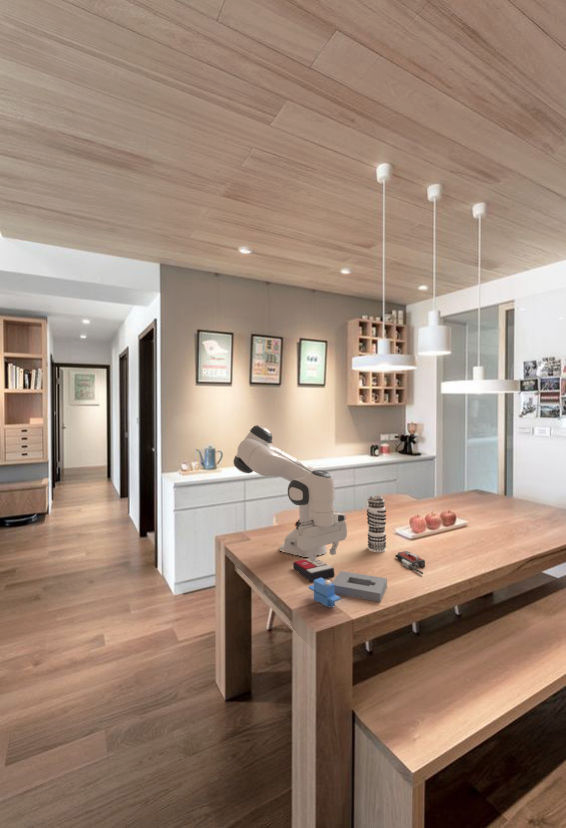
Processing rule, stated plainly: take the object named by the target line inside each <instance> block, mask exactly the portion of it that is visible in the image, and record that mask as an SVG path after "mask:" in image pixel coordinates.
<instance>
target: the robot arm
mask: <svg viewBox="0 0 566 828" xmlns="http://www.w3.org/2000/svg"><path fill="white" fill-rule="evenodd" d="M233 466H234V467H235V468H236V469H237V470H238V471H239V472H241V473H244V474H251V473H253V472H254V473H256V474H258V475H260V476H263V477H280V478H282V479H283V480H286V481H289V484H288V486H287V495H288V498H289V501H290V502H291V503H292V504H293V505H296V506H298V509H299V510H298V511H299V513H298V514H299V519H297V521H296V522H295V523H294V527H295V528H294V529H293V530H292V531H290V532H289V533H288V534H286V536H285V538H284V540H283V543H282V544H281V545H280V546H279V549H280V550H281V551H284V552H287V553H291V554H295V555H299V556H302V557H301V558H303V557H308V558H309V560H310V561H315V560H316V559H315V558H317V557H318V556H317V555H319V556H323V555H324V554H326V553H327V552H328V550H327V545H331V544H332V545H331V548H329V554H330V555H331V556H334V555H335V556H336V555H337V548H338V546H339V542H343V541H346V538H347V536H348V528H347V527H348V525H347V522H346V520H347V515H346V514H344V513H341V512H338V511H336V509H335V505H334V503H335V501H334V500H335V491H336V490H335V482H334V478H333V475H332V473H330V472H328V471H327V470H320V469H315V468H314V467H313V466H310V465H309V464H307V463H306V462H303V461H302V460H299V459H298V458H296V457H294V456H292V455H291V454H289V453H287V451H284V450H282V449H281V448H279V447H278V446H274V445H273V434H272V433H271V432H270V430H269V429H268V428H267V427H265V426H262V425H254V426H252V428H251V429H250V430H249V433H248V434H247V435H246V436H245V438H244V439H243V440H242V441H241V442H240V443H239V444H238V446H237V452H236V455H235V456H234V458H233ZM287 553H286V554H287ZM291 554H290V555H291ZM322 554H323V555H322ZM295 555H294V556H295ZM299 556H298V557H299Z"/></svg>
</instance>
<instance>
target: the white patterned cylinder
mask: <svg viewBox="0 0 566 828" xmlns="http://www.w3.org/2000/svg"><path fill="white" fill-rule="evenodd" d="M367 501H368V503H367V509H366V517H367V518H366V519H367V526H368V531H367V549H369V550H368V551H370V552H372V551H373V552H374V553H384V552H386V551H387V541H386V540H387V538H386V537H387V534H386V530H385V529H386V525H387V524H386V523H387V522H386V520H387V518H386V517H387V514H386V513H387V510H386V506H385V501H386V499H384V497H382V496H381V495H371V496H370V497H369V498H368V499H367ZM373 552H372V553H373Z"/></svg>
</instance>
